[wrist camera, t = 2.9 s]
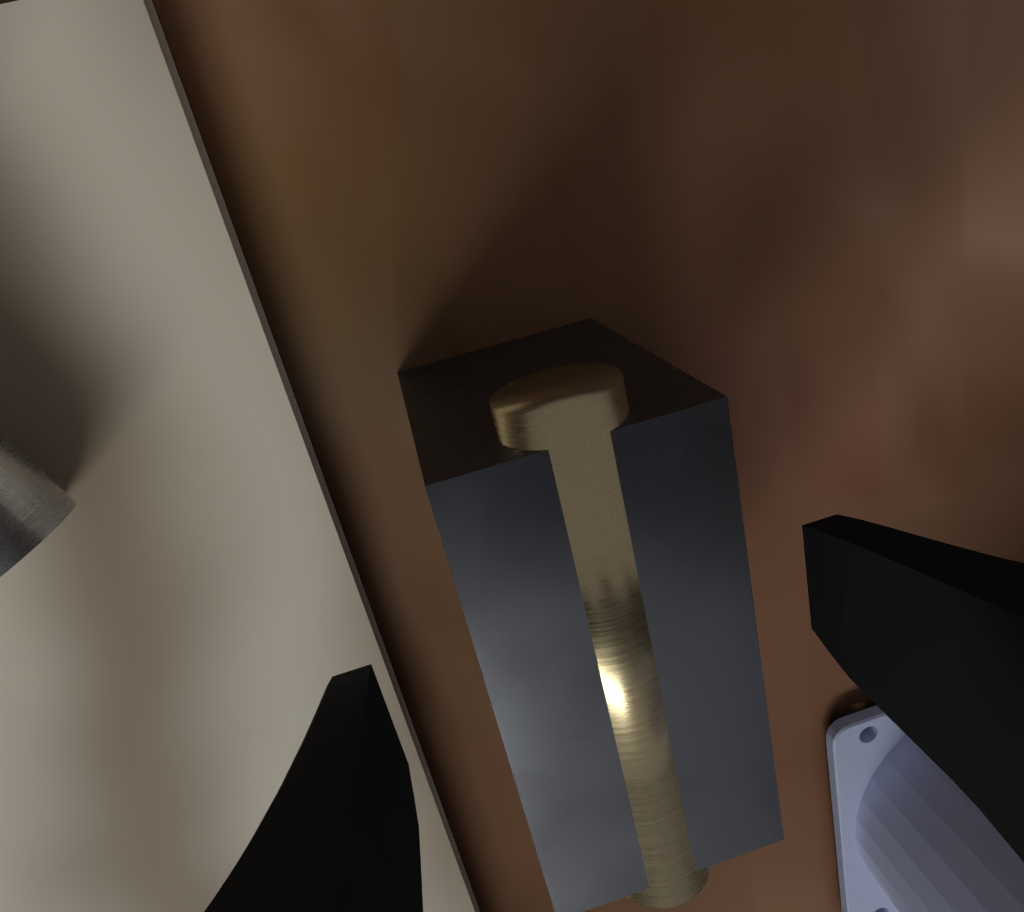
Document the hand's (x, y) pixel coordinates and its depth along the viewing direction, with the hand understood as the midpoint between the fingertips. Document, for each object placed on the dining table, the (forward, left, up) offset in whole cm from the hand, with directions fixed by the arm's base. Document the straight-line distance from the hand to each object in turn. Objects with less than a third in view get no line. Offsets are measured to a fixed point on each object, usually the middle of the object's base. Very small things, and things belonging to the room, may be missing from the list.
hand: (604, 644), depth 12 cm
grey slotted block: (0, 0, -5) cm, 5 cm away
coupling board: (+9, +3, -5) cm, 11 cm away
